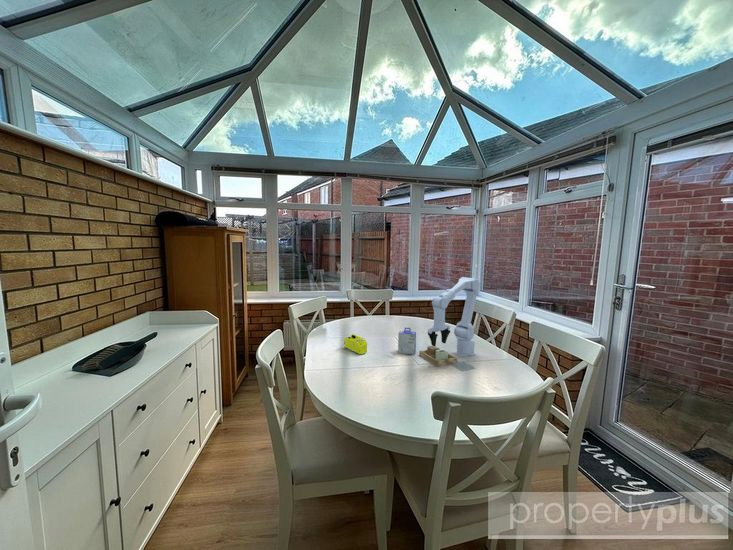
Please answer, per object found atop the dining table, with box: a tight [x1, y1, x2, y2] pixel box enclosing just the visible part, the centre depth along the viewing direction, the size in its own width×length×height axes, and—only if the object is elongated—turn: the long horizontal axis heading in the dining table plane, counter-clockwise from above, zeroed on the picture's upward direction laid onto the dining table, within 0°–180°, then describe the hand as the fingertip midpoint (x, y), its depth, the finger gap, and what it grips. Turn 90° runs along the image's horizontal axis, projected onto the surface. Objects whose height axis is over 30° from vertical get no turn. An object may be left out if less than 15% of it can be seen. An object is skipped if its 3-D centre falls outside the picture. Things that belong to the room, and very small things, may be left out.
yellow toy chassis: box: [343, 333, 368, 355], centre depth 177 cm, size 16×6×8 cm, turn 38°
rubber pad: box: [449, 361, 477, 372], centre depth 154 cm, size 9×9×1 cm
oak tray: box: [418, 348, 458, 367], centre depth 164 cm, size 13×17×3 cm
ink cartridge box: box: [397, 327, 417, 355], centre depth 173 cm, size 10×6×14 cm, turn 76°
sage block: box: [436, 348, 449, 361], centre depth 160 cm, size 4×4×6 cm
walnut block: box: [426, 345, 440, 358], centre depth 167 cm, size 4×5×5 cm
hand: (438, 344), depth 160 cm, fingers open, 7 cm apart
